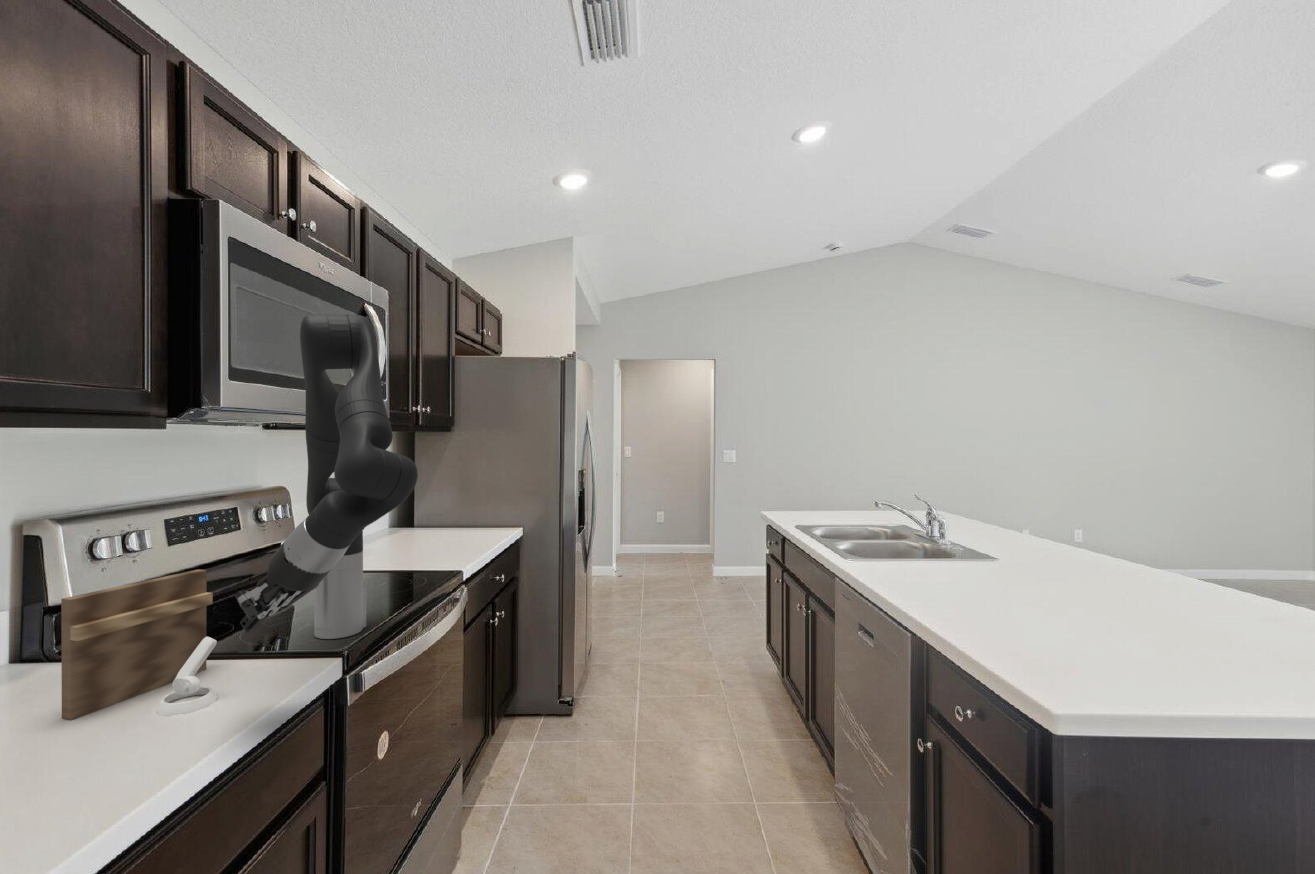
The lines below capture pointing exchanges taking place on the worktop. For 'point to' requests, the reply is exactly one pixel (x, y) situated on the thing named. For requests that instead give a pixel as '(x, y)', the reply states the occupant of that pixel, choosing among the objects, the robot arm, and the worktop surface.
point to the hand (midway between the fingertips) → (247, 626)
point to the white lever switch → (189, 684)
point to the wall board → (129, 639)
